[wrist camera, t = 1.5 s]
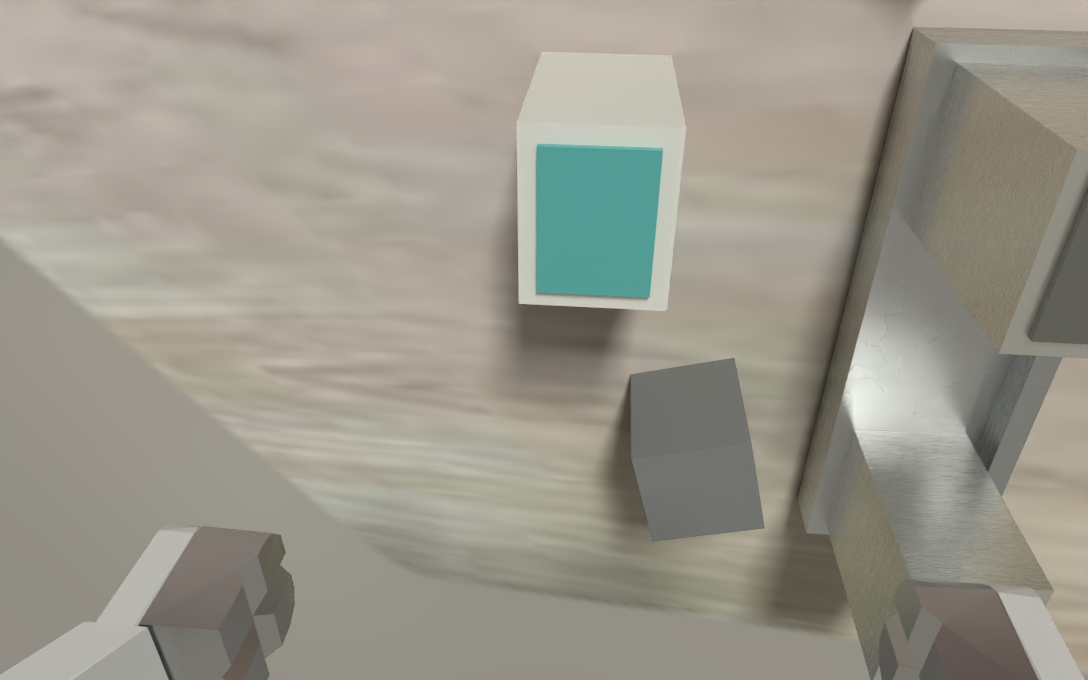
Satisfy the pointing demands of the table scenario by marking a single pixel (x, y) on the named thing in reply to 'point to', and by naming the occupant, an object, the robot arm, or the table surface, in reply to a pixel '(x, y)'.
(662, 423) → the block
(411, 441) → the table surface
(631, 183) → the block
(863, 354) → the rail
